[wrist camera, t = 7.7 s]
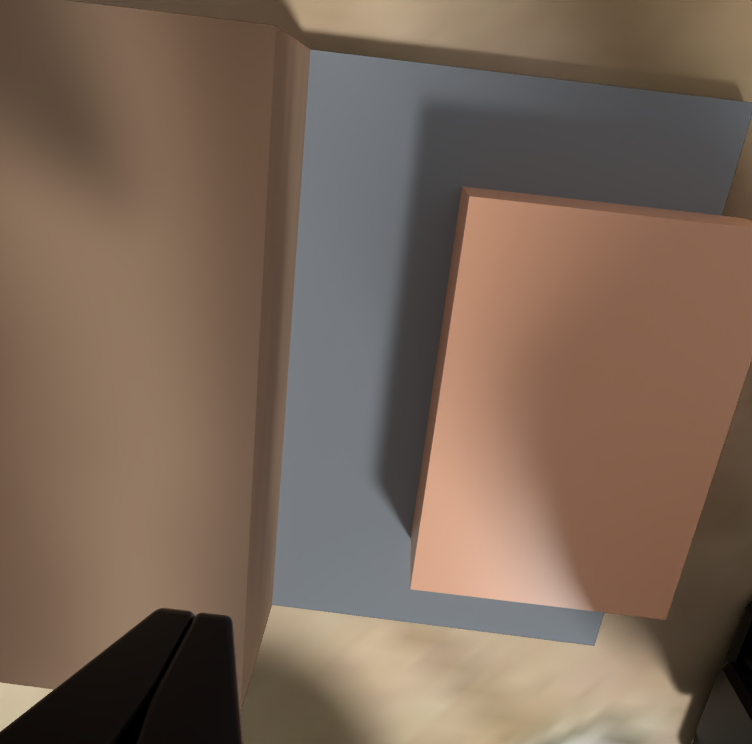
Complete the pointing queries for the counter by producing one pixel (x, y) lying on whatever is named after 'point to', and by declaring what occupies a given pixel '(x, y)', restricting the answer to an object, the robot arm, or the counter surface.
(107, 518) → the wooden block
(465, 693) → the counter surface
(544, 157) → the mat
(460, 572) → the salmon pink brick
